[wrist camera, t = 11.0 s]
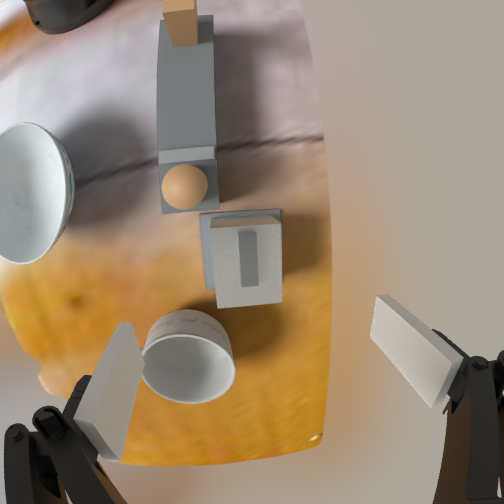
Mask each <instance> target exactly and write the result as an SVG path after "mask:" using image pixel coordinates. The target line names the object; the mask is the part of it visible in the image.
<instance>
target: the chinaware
mask: <svg viewBox="0 0 504 504" xmlns="http://www.w3.org/2000/svg"><path fill="white" fill-rule="evenodd" d="M74 193H75V182H74V173H73V169H72V165H71V162H70V159H69V157H68V155H67V153H66V151H65V149H64V147H63V146H62V144H61V143H60V142H59V141H58V139H57V138H56V137H55V136H54V135H52V134H51V133H50V132H49V131H47V130H46V129H44V128H43V127H41V126H39V125H37V124H34V123H28V122H24V123H18V124H15V125H12V126H10V127H8V128H7V129H5V130H4V131H3V132H2V133H1V134H0V256H1V257H3V258H4V259H6V260H7V261H9V262H12V263H15V264H29V263H32V262H35V261H37V260H38V259H40V258H41V257H43V256H44V255H45V254H46V253H47V252H48V251H49V250H50V249H51V248H52V247H53V245H54V244H55V243H56V242H57V240H58V239H59V237H60V236H61V234H62V232H63V231H64V229H65V227H66V225H67V222H68V220H69V217H70V214H71V211H72V207H73V202H74Z"/></svg>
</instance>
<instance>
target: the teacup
mask: <svg viewBox="0 0 504 504" xmlns="http://www.w3.org/2000/svg"><path fill="white" fill-rule="evenodd" d="M140 351H141V354H142V357H143V360H144V363H145V366H144V369H143V373H142V376H141V377H143V379H144V381H145V382H146V384H147V385H148V386H149V387H150V388H151V389H152V390H153V391H154V392H156V393H157V394H159V395H160V396H162V397H164V398H167V399H169V400H172V401H176V402H180V403H187V404H197V403H204V402H208V401H211V400H214V399H216V398H218V397H220V396H222V395H223V394H224V393H226V392H227V391H228V390H229V389H230V387H231V386H232V384H233V382H234V379H235V375H236V366H235V362H234V359H233V354H232V349H231V344H230V340H229V337H228V335H227V333H226V331H225V329H224V328H223V326H222V325H221V324H220V323H219V322H218V321H217V320H216V319H214V318H213V317H212V316H210V315H208V314H206V313H203V312H200V311H197V310H190V309H181V310H176V311H172V312H169V313H167V314H165V315H163V316H162V317H161V318H159V319H158V320H157V321H156V322H155V323H154V325H153V326H152V328H151V329H150V332H149V334H148V336H147V339H146V342H145V346H144V347H143V348H140Z"/></svg>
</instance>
